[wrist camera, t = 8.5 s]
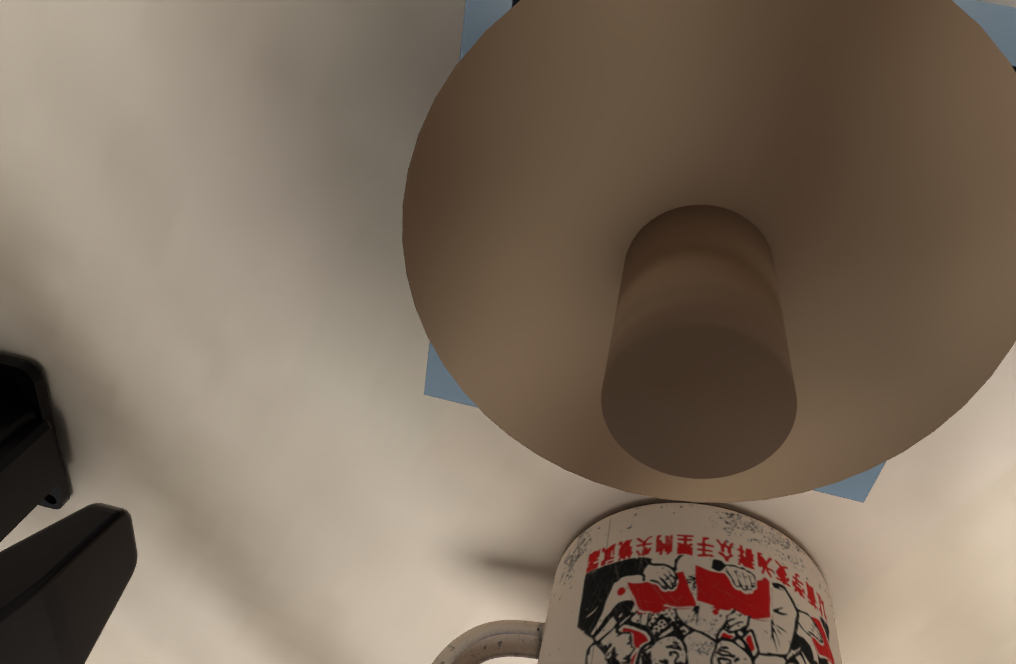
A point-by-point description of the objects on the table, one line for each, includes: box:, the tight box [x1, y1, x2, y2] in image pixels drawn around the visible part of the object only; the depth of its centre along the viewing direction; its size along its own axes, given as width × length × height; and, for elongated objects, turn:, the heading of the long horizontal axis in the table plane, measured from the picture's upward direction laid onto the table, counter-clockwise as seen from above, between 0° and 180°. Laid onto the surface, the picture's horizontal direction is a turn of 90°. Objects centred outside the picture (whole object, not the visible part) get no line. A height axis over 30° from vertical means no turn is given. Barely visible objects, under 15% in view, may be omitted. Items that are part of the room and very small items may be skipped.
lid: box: [402, 0, 1016, 503], centre depth 13 cm, size 11×11×5 cm
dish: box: [424, 0, 1016, 503], centre depth 17 cm, size 10×10×4 cm
